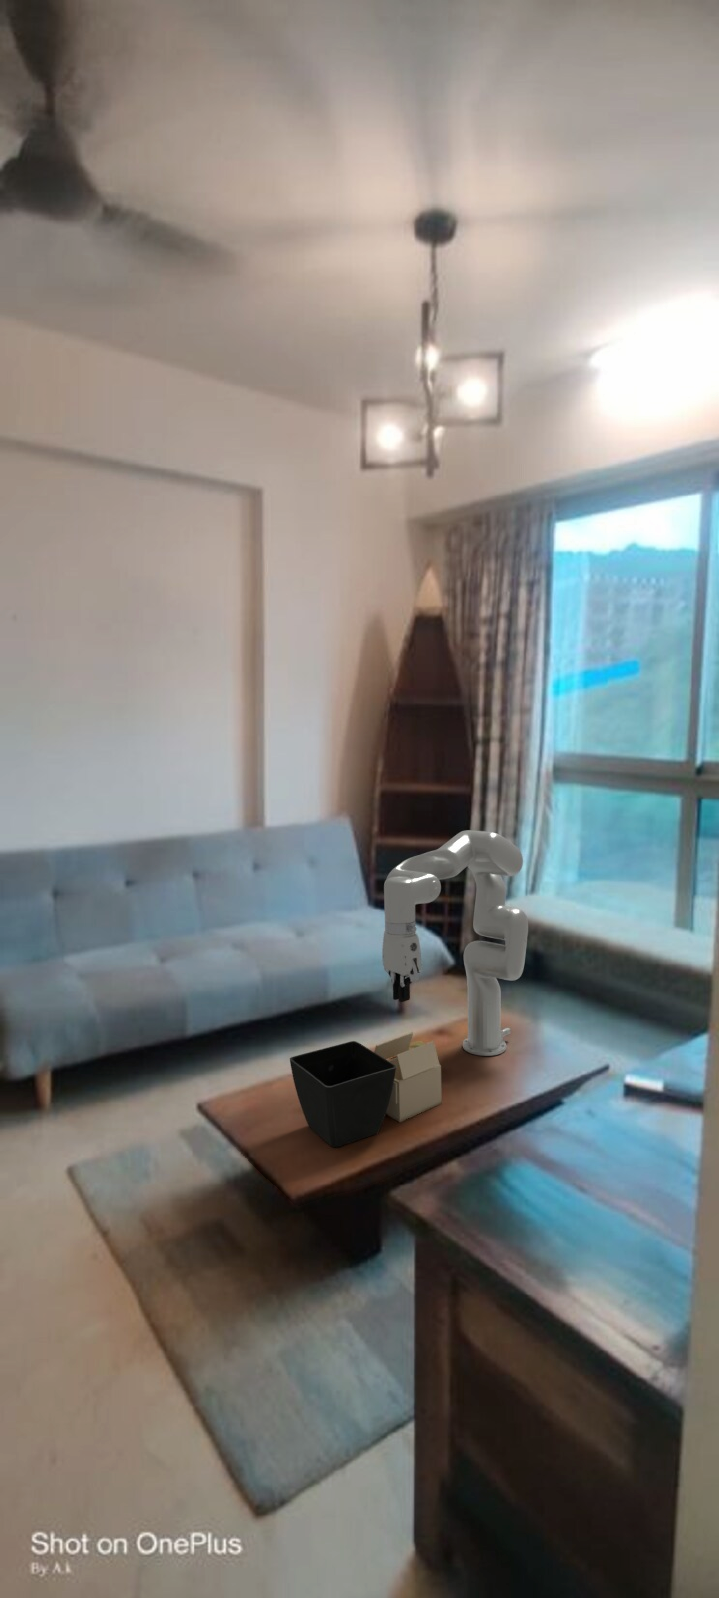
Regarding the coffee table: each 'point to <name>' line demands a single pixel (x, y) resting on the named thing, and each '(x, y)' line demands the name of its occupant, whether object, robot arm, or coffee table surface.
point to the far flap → (394, 1046)
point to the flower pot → (343, 1091)
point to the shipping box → (414, 1093)
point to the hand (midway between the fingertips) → (401, 999)
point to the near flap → (417, 1060)
